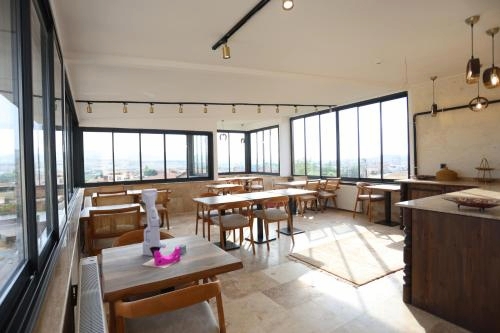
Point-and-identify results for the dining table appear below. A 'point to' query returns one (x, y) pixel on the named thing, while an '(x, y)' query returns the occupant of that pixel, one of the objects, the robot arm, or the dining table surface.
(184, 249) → the slate-blue cube
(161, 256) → the toy block
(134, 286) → the dining table surface
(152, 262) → the letter board
